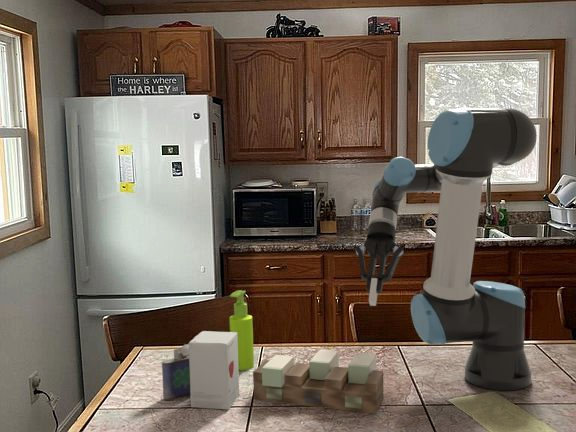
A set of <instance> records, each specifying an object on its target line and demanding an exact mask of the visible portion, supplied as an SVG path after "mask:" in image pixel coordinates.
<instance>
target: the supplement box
mask: <svg viewBox="0 0 576 432" xmlns="http://www.w3.org/2000/svg"><path fill="white" fill-rule="evenodd" d="M188 344H189V363H190V392H191V395H190V408H197V409H198V408H200V409H201V408H202V409H214V410H215V409H216V410H230V408H231V407H232V406H233V404H234V403H235V402H236V400H237V398H238V397H239V396H240V379H239V377H240V375H239V371H240V370H238V340H237V332H230V331H213V330H212V331H210V330H208V331H207V330H202V331H201V332H199V333H198V334H197V335H196V336H194V337H193V339H191V340H190V341H189V342H188Z"/></svg>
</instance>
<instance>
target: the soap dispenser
mask: <svg viewBox="0 0 576 432" xmlns="http://www.w3.org/2000/svg"><path fill="white" fill-rule="evenodd" d="M245 294H246V290H241V289H239V290H238V289H237V290H235V291H234V292H232V293H231V294H230V295H229V297H230V298H235V299H236V302H235V303H234V304H233V315H231V316H229V332H237V340H238V371H246V370H251V369H252V368H254V367H255V362H254V361H255V360H254V359H255V358H254V328H253V316H252V314H251V315H250V314H248V303H247V302H245V300H244V295H245Z"/></svg>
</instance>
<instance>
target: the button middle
mask: <svg viewBox="0 0 576 432" xmlns="http://www.w3.org/2000/svg"><path fill="white" fill-rule="evenodd" d="M339 355H340V353H339V350H334V349H333V350H331V349H321V348H320V349H319V350H318V351H317V352H316V354H314V356H313V357H312V358H311V359H310V361H308V362H309V363H308V364H309V370H310V379H316V380H324V379H325V378H326V376H327V375H328V374H329V372H330V371H331V370H332V368H333V367H340V364H339V363H340V362H339Z"/></svg>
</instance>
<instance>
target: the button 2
mask: <svg viewBox="0 0 576 432" xmlns="http://www.w3.org/2000/svg"><path fill="white" fill-rule="evenodd" d="M347 368H348V383H356V384H365V383H366V381H367V379H368V378H369V376H370V374H371V372H372V371H373V370H377V354H376V353H368V352H356V353H355V355H354V356H353V358H352V359H351V361H350V362H349V363H348V366H347Z"/></svg>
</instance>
